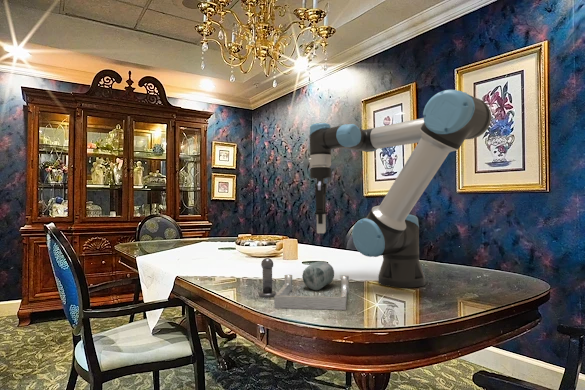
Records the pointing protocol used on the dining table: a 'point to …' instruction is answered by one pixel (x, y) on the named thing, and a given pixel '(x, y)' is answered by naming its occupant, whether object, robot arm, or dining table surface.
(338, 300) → the keeper cradle
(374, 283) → the dining table surface
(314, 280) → the grey rounded piece
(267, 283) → the post
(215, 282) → the dining table surface
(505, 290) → the dining table surface
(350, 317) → the dining table surface
